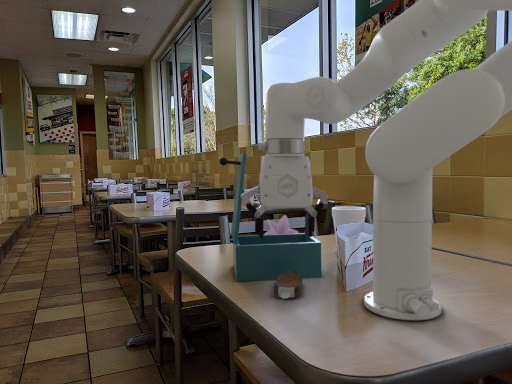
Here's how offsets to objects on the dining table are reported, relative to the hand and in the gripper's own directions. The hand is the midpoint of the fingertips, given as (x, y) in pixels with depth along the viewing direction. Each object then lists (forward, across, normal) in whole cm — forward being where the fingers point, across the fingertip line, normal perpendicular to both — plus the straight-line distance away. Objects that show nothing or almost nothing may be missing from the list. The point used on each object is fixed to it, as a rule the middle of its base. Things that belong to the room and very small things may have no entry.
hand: (284, 236), depth 75 cm
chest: (+12, +1, +16) cm, 19 cm away
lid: (-7, -8, +16) cm, 19 cm away
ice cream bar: (+12, +1, 0) cm, 12 cm away
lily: (+12, +7, +40) cm, 42 cm away
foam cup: (+11, +25, +31) cm, 41 cm away
